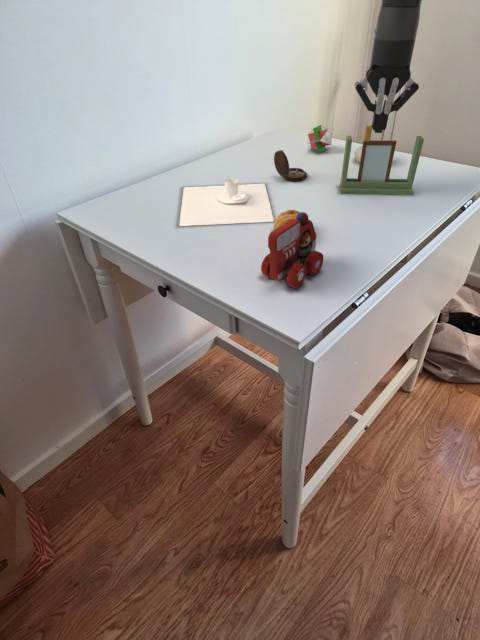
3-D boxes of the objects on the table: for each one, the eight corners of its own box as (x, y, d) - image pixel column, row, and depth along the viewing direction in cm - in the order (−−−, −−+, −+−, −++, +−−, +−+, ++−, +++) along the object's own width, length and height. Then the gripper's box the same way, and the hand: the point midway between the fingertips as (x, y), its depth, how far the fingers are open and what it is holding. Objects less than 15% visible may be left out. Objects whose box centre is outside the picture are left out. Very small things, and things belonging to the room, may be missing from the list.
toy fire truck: (328, 265, 76) (335, 211, 69) (287, 297, 69) (290, 241, 62) (296, 252, 79) (300, 200, 72) (254, 282, 72) (254, 227, 66)
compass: (311, 178, 106) (314, 148, 101) (284, 185, 103) (285, 154, 98) (294, 168, 111) (296, 139, 107) (268, 174, 109) (268, 144, 104)
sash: (386, 184, 99) (398, 125, 90) (387, 186, 98) (399, 127, 89) (356, 183, 99) (365, 125, 91) (356, 186, 98) (366, 127, 90)
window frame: (408, 187, 100) (420, 134, 92) (411, 194, 97) (424, 140, 89) (339, 186, 102) (346, 134, 94) (340, 193, 99) (347, 140, 91)
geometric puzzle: (296, 142, 120) (313, 121, 114) (310, 136, 124) (326, 115, 117) (312, 162, 120) (329, 142, 113) (325, 155, 124) (342, 135, 117)
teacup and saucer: (251, 206, 95) (250, 188, 92) (215, 207, 95) (214, 190, 92) (248, 190, 101) (248, 173, 99) (215, 191, 101) (214, 174, 99)
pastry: (314, 247, 80) (315, 229, 78) (278, 250, 80) (279, 232, 78) (304, 224, 88) (305, 207, 85) (272, 226, 87) (272, 209, 85)
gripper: (361, 39, 77) (348, 137, 89) (436, 37, 76) (413, 137, 87) (357, 33, 83) (345, 126, 94) (426, 32, 82) (406, 126, 93)
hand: (378, 131), depth 91 cm, fingers closed
